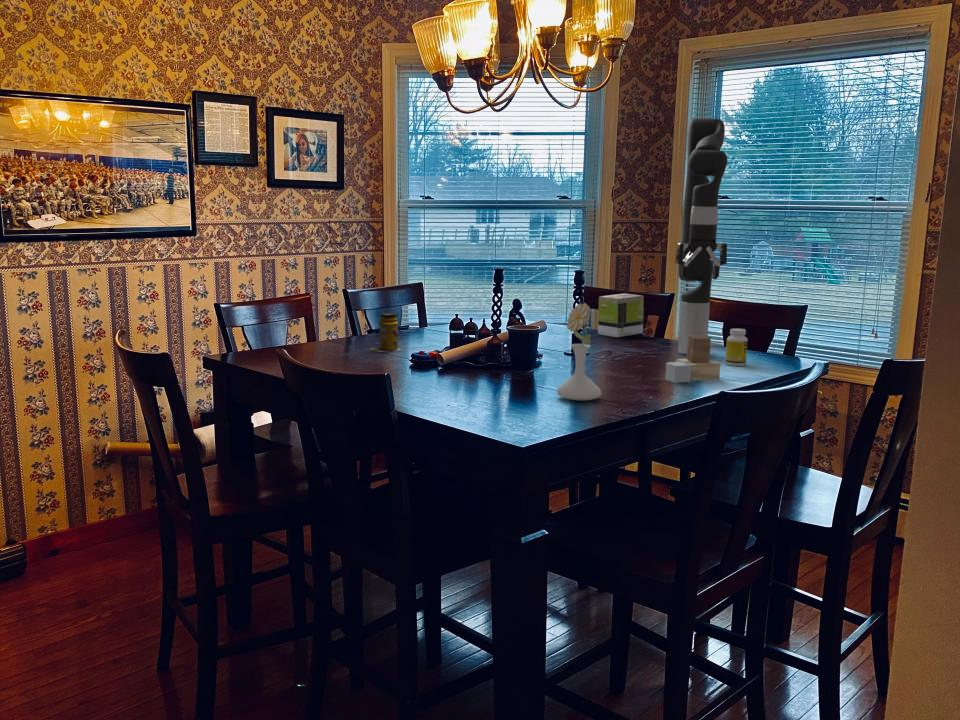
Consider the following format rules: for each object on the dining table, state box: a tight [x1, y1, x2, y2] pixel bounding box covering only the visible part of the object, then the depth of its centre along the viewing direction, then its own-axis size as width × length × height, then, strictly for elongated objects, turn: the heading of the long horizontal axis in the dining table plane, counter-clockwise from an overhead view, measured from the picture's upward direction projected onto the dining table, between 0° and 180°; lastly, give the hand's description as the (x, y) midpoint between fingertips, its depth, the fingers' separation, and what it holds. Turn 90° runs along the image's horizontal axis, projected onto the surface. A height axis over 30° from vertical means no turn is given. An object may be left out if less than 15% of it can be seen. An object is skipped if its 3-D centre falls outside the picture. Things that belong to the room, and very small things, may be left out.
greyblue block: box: [664, 361, 691, 384], centre depth 236 cm, size 5×5×5 cm
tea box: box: [597, 293, 645, 338], centre depth 316 cm, size 15×10×15 cm, turn 130°
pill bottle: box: [724, 328, 749, 367], centre depth 260 cm, size 6×6×11 cm
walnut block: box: [686, 336, 711, 363], centre depth 240 cm, size 5×5×7 cm
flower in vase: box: [556, 302, 603, 402], centre depth 211 cm, size 13×11×25 cm
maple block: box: [675, 357, 721, 381], centre depth 242 cm, size 9×9×5 cm
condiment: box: [369, 312, 403, 353], centre depth 278 cm, size 7×8×12 cm
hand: (699, 279), depth 242 cm, fingers open, 8 cm apart
